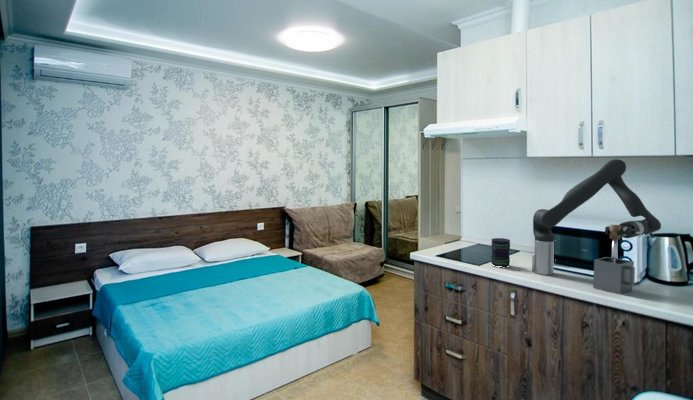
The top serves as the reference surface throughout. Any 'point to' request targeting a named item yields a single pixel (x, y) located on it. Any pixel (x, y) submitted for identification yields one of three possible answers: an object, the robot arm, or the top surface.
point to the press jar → (614, 275)
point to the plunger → (614, 240)
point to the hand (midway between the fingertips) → (612, 232)
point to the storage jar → (500, 252)
